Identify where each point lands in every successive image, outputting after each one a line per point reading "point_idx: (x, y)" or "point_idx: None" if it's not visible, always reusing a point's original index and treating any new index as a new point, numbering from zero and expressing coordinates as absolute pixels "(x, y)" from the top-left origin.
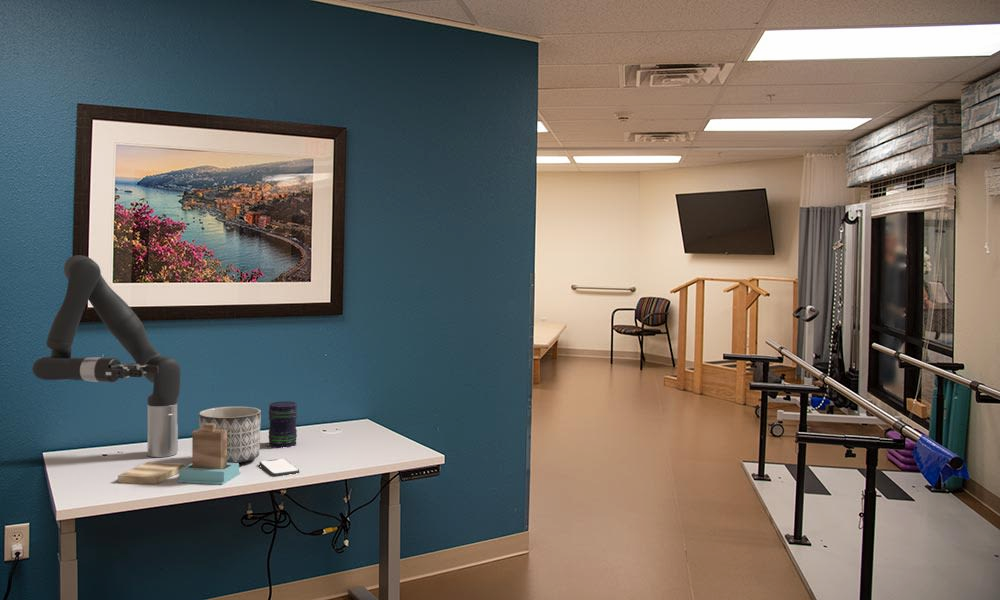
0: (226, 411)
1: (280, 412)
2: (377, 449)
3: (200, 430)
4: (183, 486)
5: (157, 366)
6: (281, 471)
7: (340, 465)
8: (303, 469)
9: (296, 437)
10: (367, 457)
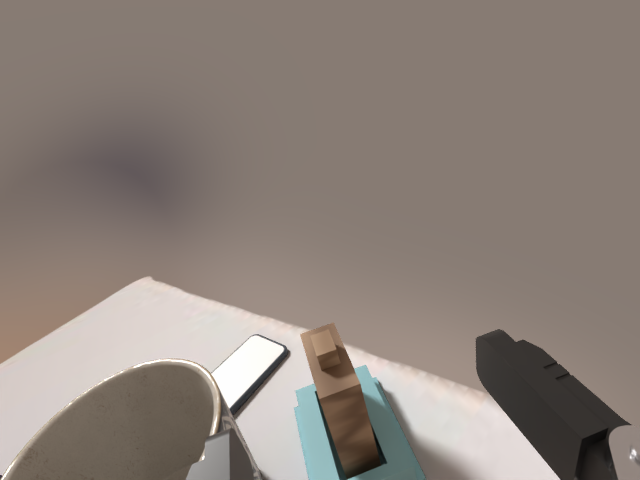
0: None
1: None
2: (89, 342)
3: (337, 376)
4: (437, 436)
5: (218, 434)
6: (270, 347)
7: (198, 324)
8: (232, 346)
9: None
10: (145, 325)
